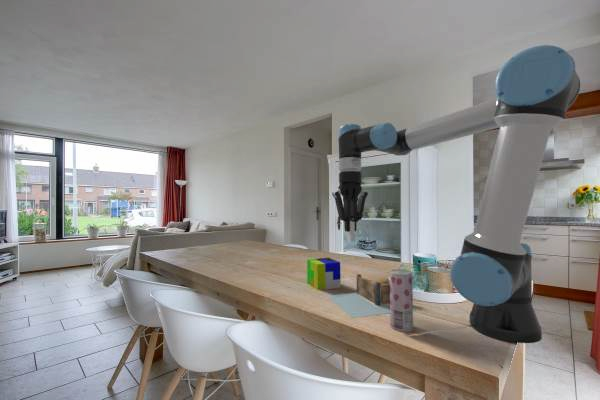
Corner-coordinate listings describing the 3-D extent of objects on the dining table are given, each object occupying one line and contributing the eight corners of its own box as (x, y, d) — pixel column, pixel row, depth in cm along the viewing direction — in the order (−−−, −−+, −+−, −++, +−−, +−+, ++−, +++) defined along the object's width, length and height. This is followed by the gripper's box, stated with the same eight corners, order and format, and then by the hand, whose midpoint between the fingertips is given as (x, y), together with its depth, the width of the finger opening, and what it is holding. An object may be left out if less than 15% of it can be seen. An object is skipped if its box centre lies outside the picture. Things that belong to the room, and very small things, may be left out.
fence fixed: (400, 300, 93) (400, 280, 93) (403, 301, 92) (403, 281, 92) (380, 302, 91) (380, 282, 91) (383, 304, 89) (383, 283, 90)
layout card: (417, 310, 86) (417, 309, 86) (352, 319, 80) (352, 317, 80) (382, 291, 105) (382, 289, 105) (326, 296, 99) (326, 295, 99)
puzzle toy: (340, 287, 110) (340, 262, 110) (317, 290, 106) (317, 264, 106) (328, 281, 119) (328, 257, 119) (307, 283, 116) (307, 259, 116)
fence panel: (381, 305, 89) (381, 283, 89) (377, 306, 89) (376, 284, 89) (360, 292, 102) (359, 273, 102) (355, 293, 101) (355, 274, 101)
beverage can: (407, 323, 77) (406, 268, 77) (417, 333, 71) (416, 274, 71) (387, 323, 76) (386, 269, 77) (395, 333, 71) (394, 274, 71)
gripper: (338, 169, 89) (339, 243, 88) (372, 171, 93) (373, 241, 93) (327, 172, 96) (328, 240, 95) (360, 173, 100) (360, 238, 100)
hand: (350, 241), depth 94 cm, fingers closed
